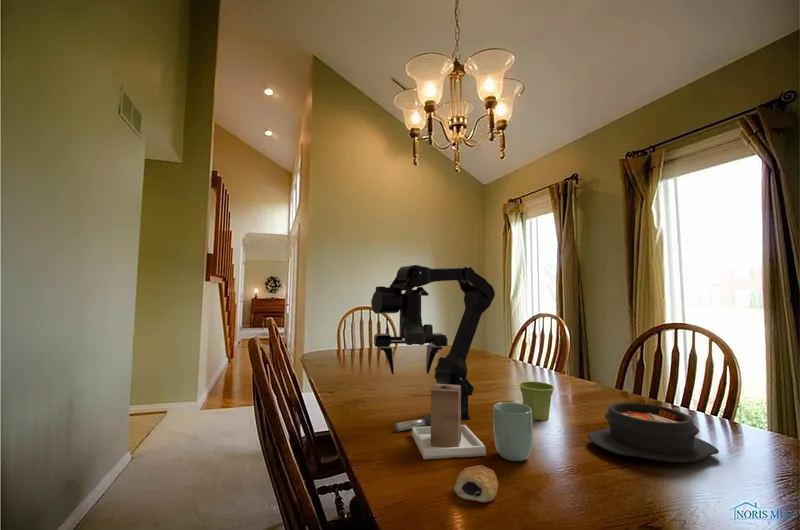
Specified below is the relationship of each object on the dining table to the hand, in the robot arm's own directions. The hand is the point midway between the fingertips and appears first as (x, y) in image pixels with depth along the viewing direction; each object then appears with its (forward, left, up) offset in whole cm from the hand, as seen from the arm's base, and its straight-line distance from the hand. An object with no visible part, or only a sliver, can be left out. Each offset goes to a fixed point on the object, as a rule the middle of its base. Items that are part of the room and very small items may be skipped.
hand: (410, 373), depth 95 cm
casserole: (-49, +22, -13) cm, 55 cm away
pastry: (-6, +32, -14) cm, 35 cm away
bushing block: (-6, +13, -12) cm, 19 cm away
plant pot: (-36, -2, -13) cm, 38 cm away
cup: (-18, +21, -13) cm, 31 cm away
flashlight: (-1, +2, -13) cm, 13 cm away
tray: (-6, +13, -13) cm, 19 cm away
